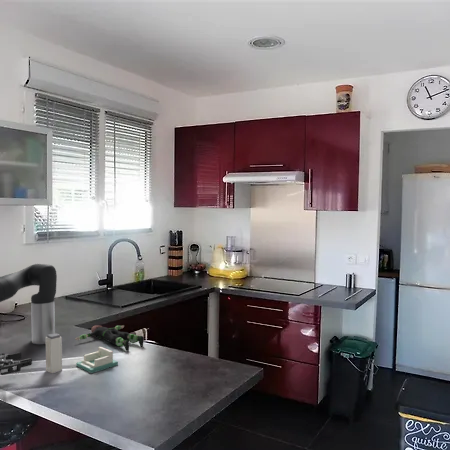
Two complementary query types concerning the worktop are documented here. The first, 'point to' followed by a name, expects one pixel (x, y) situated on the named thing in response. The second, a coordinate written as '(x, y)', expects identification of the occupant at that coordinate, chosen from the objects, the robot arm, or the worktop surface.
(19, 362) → the robot arm
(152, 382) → the worktop surface
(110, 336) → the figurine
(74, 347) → the worktop surface
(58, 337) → the cream rectangular block
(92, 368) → the green base socket
